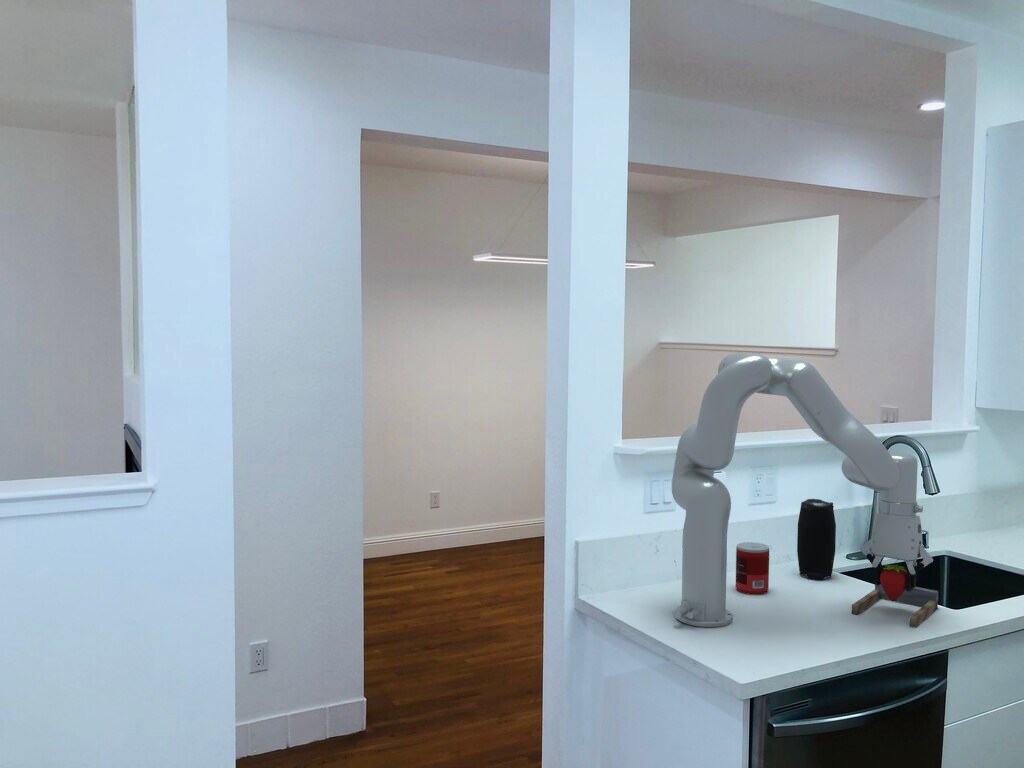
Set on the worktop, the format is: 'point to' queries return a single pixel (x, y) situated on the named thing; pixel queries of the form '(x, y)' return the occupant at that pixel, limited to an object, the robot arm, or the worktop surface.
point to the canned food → (752, 568)
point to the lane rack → (914, 597)
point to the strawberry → (893, 581)
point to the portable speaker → (816, 539)
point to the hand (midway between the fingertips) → (894, 586)
